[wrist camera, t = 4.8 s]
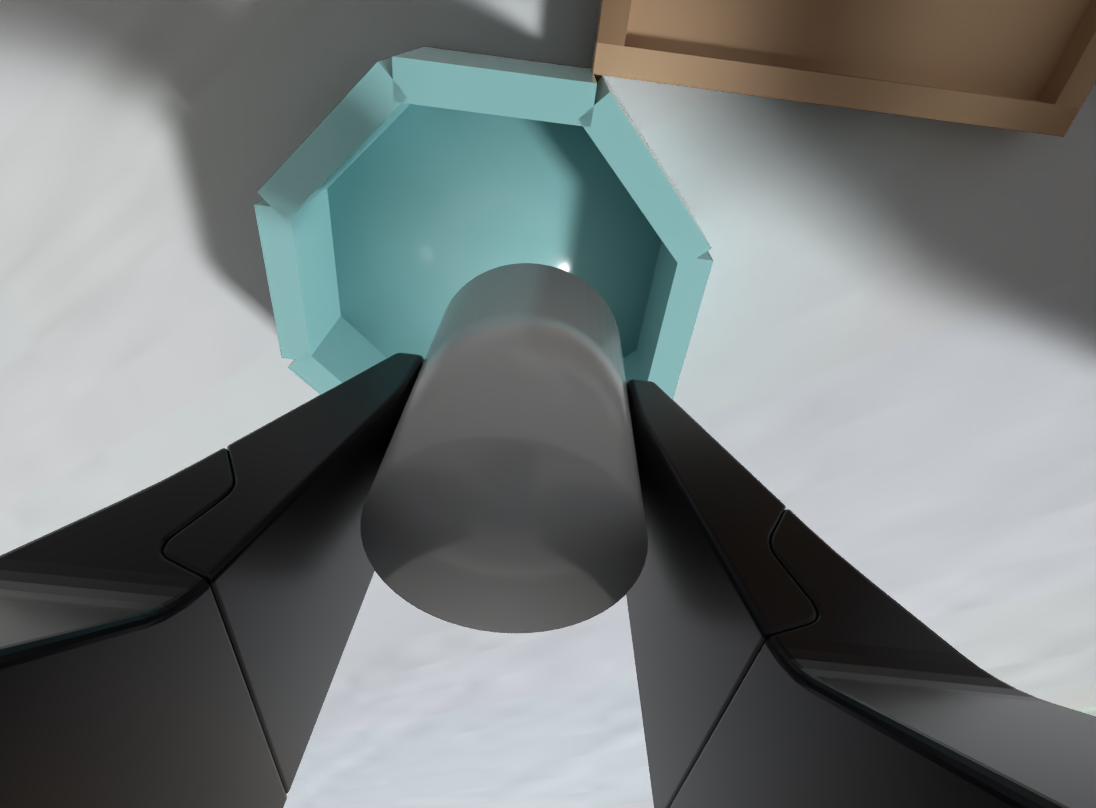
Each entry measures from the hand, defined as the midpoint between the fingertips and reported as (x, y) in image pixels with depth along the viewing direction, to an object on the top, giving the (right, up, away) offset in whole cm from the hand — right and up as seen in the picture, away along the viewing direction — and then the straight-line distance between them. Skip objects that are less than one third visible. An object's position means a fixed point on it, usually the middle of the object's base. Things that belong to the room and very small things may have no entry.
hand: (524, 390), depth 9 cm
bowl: (-1, +4, +8) cm, 9 cm away
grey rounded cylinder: (0, +1, +1) cm, 1 cm away
